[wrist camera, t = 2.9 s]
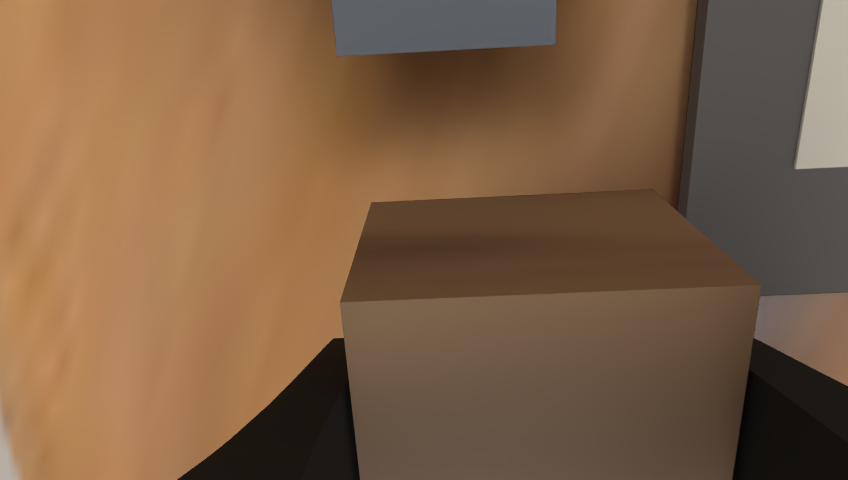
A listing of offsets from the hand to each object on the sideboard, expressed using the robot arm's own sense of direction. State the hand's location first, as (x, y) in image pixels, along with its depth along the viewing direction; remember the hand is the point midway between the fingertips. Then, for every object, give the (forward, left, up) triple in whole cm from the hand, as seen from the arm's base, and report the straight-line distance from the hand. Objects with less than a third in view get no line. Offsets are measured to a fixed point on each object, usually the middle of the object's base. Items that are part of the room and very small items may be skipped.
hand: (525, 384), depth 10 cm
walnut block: (0, 0, -2) cm, 2 cm away
